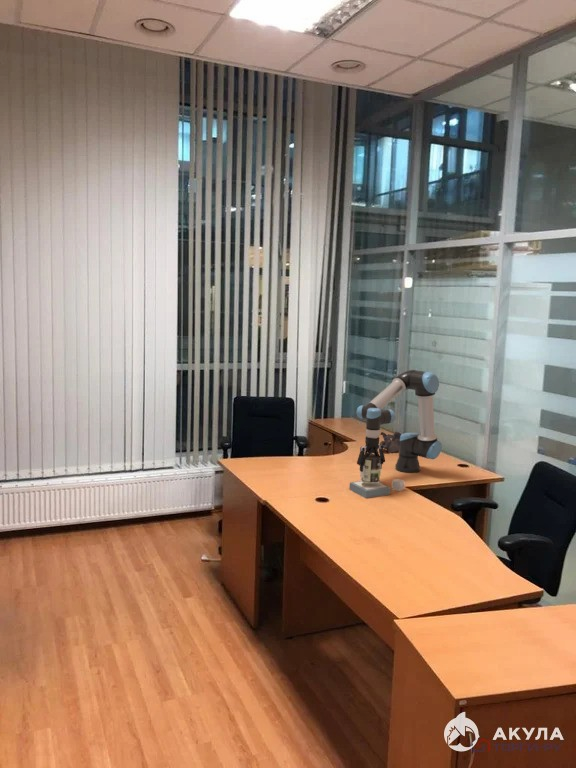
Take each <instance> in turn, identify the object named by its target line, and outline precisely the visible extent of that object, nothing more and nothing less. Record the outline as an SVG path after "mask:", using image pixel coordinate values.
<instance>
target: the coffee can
mask: <svg viewBox="0 0 576 768" xmlns="http://www.w3.org/2000/svg"><path fill="white" fill-rule="evenodd" d="M363 458H364V459H365V464H364V466H365V474H364V478H362V477H360V481H362V482H364V483H370V484H374V483H379V482H380V477H381V473H380V460H381V456H380V455H379V456H376V455H375V454H374V453H372V454H370V455H369V456H368V458H366V457H363Z"/></svg>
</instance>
